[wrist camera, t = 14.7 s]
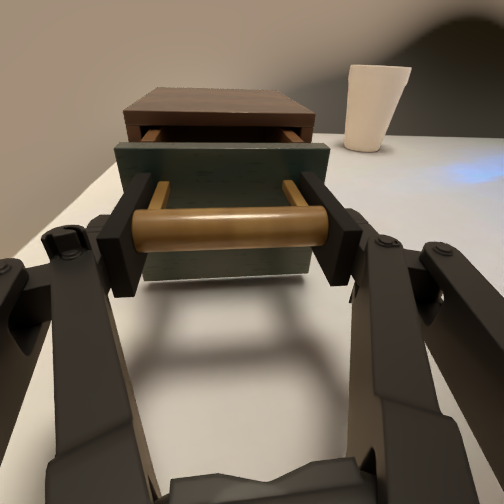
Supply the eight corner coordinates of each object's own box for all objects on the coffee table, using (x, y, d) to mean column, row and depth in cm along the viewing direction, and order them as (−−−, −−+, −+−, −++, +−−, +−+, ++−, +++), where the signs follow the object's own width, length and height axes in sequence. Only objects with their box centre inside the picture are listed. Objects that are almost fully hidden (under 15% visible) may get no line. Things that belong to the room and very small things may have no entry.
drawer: (337, 338, 16) (382, 189, 11) (122, 355, 15) (66, 194, 10) (274, 197, 32) (282, 109, 27) (167, 199, 31) (154, 106, 26)
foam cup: (347, 154, 51) (366, 66, 44) (328, 141, 58) (342, 64, 51) (397, 154, 52) (424, 68, 45) (372, 141, 60) (391, 66, 52)
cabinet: (297, 244, 26) (315, 113, 20) (150, 250, 25) (122, 110, 19) (269, 183, 38) (276, 90, 32) (169, 185, 37) (157, 87, 31)
